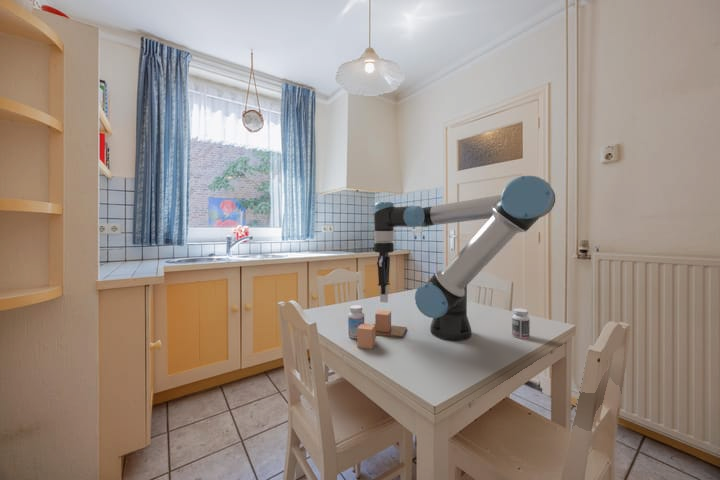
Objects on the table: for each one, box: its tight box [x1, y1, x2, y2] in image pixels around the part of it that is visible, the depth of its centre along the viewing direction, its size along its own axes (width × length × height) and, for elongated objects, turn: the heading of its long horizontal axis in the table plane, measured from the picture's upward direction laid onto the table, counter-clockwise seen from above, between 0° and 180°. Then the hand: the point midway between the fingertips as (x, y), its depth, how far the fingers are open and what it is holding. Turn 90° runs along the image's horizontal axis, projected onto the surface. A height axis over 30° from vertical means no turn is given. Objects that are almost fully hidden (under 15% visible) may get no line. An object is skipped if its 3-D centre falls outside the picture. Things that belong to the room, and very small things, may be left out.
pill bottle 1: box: [347, 304, 365, 340], centre depth 109 cm, size 6×6×11 cm
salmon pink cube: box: [374, 310, 392, 332], centre depth 114 cm, size 5×5×7 cm
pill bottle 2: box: [511, 307, 531, 340], centre depth 107 cm, size 6×6×10 cm
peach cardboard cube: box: [356, 323, 377, 350], centre depth 100 cm, size 5×5×7 cm
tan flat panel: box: [372, 323, 407, 339], centre depth 114 cm, size 14×10×6 cm
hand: (384, 301), depth 114 cm, fingers closed
